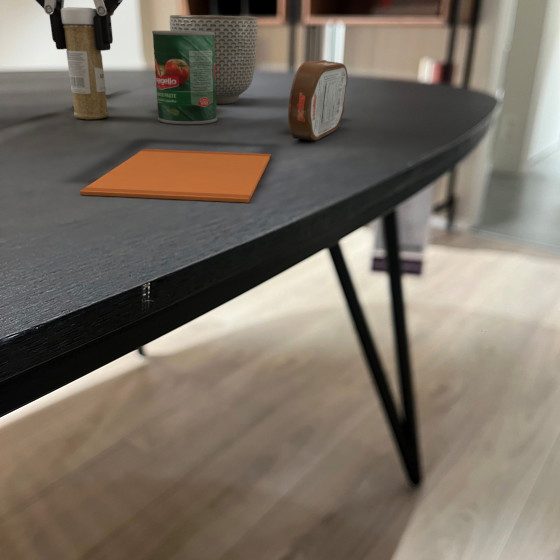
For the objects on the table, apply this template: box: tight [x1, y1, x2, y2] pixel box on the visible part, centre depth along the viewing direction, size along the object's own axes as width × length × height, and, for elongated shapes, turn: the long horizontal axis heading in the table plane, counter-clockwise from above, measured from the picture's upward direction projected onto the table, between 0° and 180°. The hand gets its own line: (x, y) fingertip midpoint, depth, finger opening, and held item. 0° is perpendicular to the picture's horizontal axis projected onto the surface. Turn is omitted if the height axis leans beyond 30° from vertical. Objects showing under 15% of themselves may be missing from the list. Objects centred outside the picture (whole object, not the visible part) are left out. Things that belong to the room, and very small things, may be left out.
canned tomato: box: [151, 30, 218, 126], centre depth 75 cm, size 8×8×11 cm
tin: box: [287, 59, 349, 142], centre depth 67 cm, size 15×3×8 cm, turn 159°
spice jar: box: [61, 6, 109, 121], centre depth 74 cm, size 5×5×13 cm
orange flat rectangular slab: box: [79, 148, 272, 204], centre depth 50 cm, size 13×16×1 cm
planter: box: [169, 14, 259, 105], centre depth 93 cm, size 14×14×13 cm
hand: (83, 47), depth 74 cm, fingers closed on spice jar, 4 cm apart
